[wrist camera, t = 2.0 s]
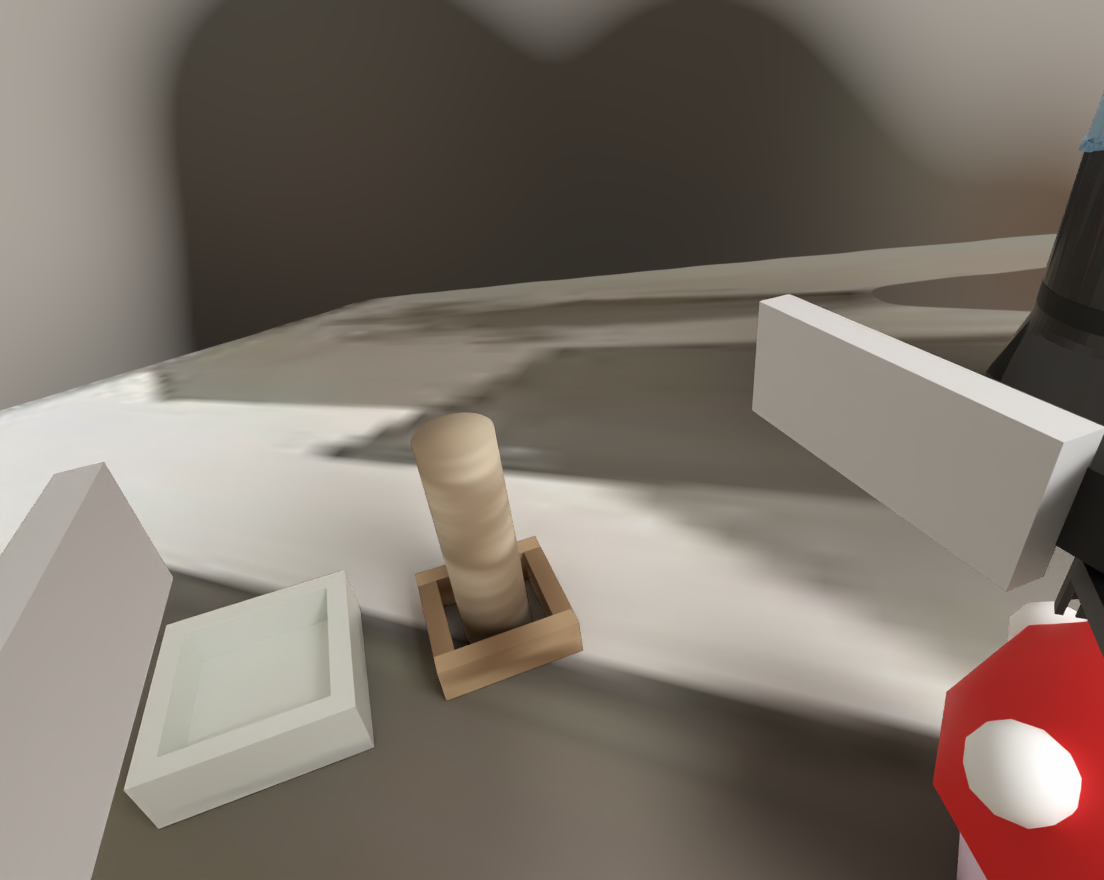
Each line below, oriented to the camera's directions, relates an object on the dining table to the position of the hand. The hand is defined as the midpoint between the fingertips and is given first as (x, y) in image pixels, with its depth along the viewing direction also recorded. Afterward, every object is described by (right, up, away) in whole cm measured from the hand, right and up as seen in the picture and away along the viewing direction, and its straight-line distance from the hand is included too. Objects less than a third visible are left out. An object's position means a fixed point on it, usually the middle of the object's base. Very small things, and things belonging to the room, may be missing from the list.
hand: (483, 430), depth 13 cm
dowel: (-2, -10, +20) cm, 23 cm away
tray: (-12, -13, +18) cm, 25 cm away
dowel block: (-2, -10, +20) cm, 23 cm away
